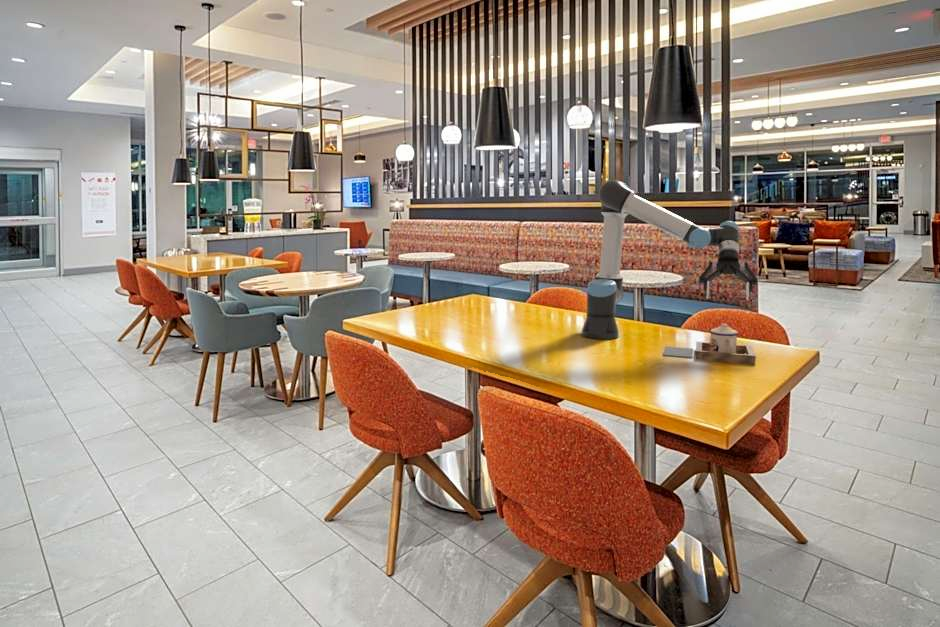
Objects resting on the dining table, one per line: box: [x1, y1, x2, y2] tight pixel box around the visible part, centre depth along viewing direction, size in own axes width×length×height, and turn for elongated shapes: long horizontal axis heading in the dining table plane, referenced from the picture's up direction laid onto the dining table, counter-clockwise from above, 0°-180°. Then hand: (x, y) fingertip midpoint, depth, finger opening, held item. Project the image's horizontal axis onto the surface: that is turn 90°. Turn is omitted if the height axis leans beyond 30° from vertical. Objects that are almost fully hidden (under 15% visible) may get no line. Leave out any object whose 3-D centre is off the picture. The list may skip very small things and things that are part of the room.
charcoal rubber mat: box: [662, 346, 694, 359], centre depth 216 cm, size 10×15×1 cm, turn 159°
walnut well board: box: [694, 341, 757, 366], centre depth 210 cm, size 19×18×3 cm
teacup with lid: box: [709, 323, 739, 354], centre depth 209 cm, size 12×9×12 cm
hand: (727, 297), depth 217 cm, fingers open, 13 cm apart
